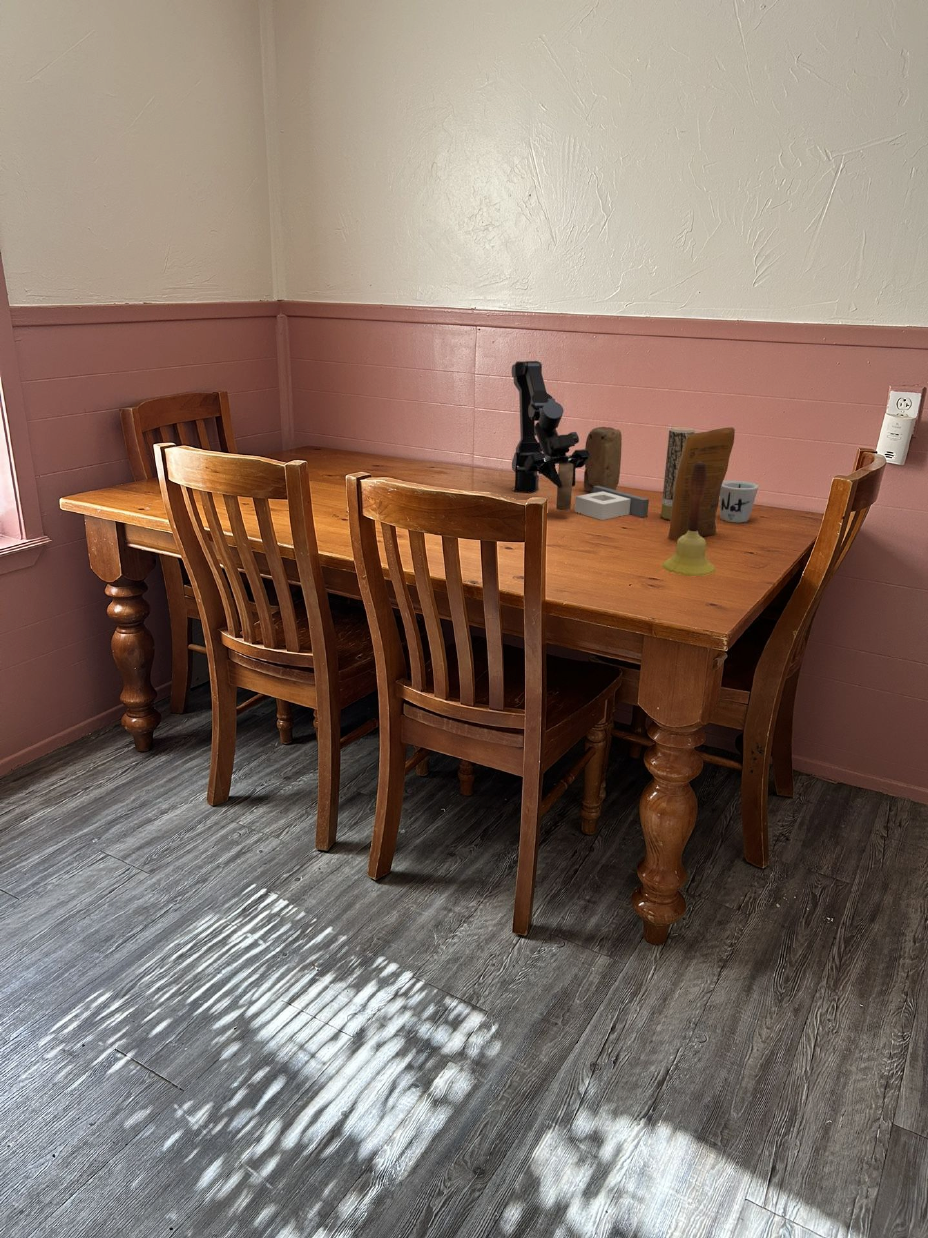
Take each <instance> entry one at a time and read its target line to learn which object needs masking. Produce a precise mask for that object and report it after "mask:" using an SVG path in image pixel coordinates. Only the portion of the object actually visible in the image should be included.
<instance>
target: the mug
mask: <svg viewBox="0 0 928 1238" xmlns="http://www.w3.org/2000/svg"><path fill="white" fill-rule="evenodd" d="M758 490H759V485H758V484H756V483H754V482H750V481H743V480H723V483H722V486H721V490H720V497H719V507H720V508H719V509H720V514H719V515H720V519H721V520H722V521H724V520H725V521H724V522H727V521H730V522H729V523H734V522H735V523H737V524H739V523H740V524H741V523H742V522H743V523H747V522H749V521H750V516H751V513H752V510H753V508H754V507H753V506H754V504H755V499H756V497H757V493H758ZM743 523H742V524H743Z"/></svg>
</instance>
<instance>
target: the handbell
mask: <svg viewBox="0 0 928 1238" xmlns="http://www.w3.org/2000/svg"><path fill="white" fill-rule="evenodd" d="M706 479H707V473H706V464H705V462H696V464H695V466H694V470H693V473H692V477H691V485H690V491H691V498H692V499H691V510H690V519H689V528H688V532H687V533H686V534H685V535H683V536H681V537H680V538H679V539H677V540H676V541H677V543H676V545H675V553H674V554H673V555H672V556H671V557H669V558H668V559H666V560H665V561H664V562H663V563H662V564H661V567H663V570H664V569H665V570H664V571H666V570H668V571H669V573H670V572H674V573H676V574H675V575H677V574H681V575H680V576H682V575H685V576H684V577H692V576H700V577H704V576H703V575H706V574H711V573H713V572H715V573H716V571H715V570H716V567H715V566H714V565H713V564H712V562H711V561H709V560H708V557H707V556H706V550H707V549H706V547H707V543H706V540H705V538H703V536H700V535H699V534H698V524H699V516H700V507H701V500H702V497H703V494H704V492H705V488H706ZM668 571H667V572H668ZM711 575H712V574H711Z"/></svg>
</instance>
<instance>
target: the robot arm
mask: <svg viewBox="0 0 928 1238" xmlns="http://www.w3.org/2000/svg"><path fill="white" fill-rule="evenodd" d="M542 371H543V364H542V362H541V361H539V360H526V361H524V360H523V361H522V360H521V361H520V360H519V361H515V363H514V364H512V366H511V376H512V378H513V385H514V386H515V388H516V389H517V390H518V393H519V394H518V395H519V396H518V397H519V424H520V425H519V427H520V428H519V429H520V431H519V432H520V440H519V442H518V443H517V445H516V447H515V452H514V455H513V458H512V461H511V470H512V471H513V472H514V473H515V475H514V477H515V478H514V488H513V489H514V490H517V491H516V492H521V491H526V492H525V493H529V492H532V493H534V492H536V491H537V490H539V477H540V476H539V475H542V476H544V477H545V478H546V479H548V480H549V481H550V482H552V483H553V484H554V485H555V486H556V487H559V488H561V487H562V484H561V481H560V478H559V476H558V470H557V468H556V465H557V464H558V465H559V463H572V464H573V478H572V488H573V487H575V486H576V470H577V469H580V468H582V467H585V463H586V462H587V461H588V460H589V458H590V457H591V455H590V453H589V451H588V450H587V449H585V448H583V449H574V451H573V452H572V454H571V455H570V454H569V455H568V453H569V452H570V448H571V447H575V445H577V444H579V443H580V438H579V435H578V433H577V431H571V432H569V433H568V434H567V433H566V434H559V433H558V430H557V428H558V427H559V425H560V423H561V420H562V417H563V415H564V407H563V406H562V405H561V404H560V403H559V402H557V401H556V398H555V397H554V398H553V396H552V395H551V394H549V393H547V388H546V385H545V381H544V377H543V372H542ZM535 422H536V423H535ZM538 474H539V475H538Z"/></svg>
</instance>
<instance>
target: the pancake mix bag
mask: <svg viewBox="0 0 928 1238" xmlns="http://www.w3.org/2000/svg"><path fill="white" fill-rule="evenodd" d="M735 430H736V429H735V428H734V427H722V428H716V429H711V430H708V431H700V432H695V433H693V434H689V439H685V442H684V446H683V449H682V453H681V457H680V460H679V464H678V468H677V472H676V478H675V484H674V492H673V502H672V510H671V519H670V520H669V531H668V534H667V535H668V536H667V539H673V540H678V539H679V538H680V537H681V536H683V535H685V534H686V533H687V532H688V528H689V519H690V510H691V499H692V498H691V491H690V485H691V477H692V473H693V470H694V466H695V464H696V462H705V464H706V473H707V479H706V488H705V492H704V494H703V497H702V500H701V507H700V516H699V524H698V534H699V535H700V536H701V537H707V536H714V535H715V534H716V531H717V526H716V520H717V519H716V518H717V511H718V507H719V504H720V490H721V486H722V483H723V481H725V477H726V475H727V471H728V469H729V463H730V457H731V452H732V450H733V447H734V443H735V433H736V431H735Z"/></svg>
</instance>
